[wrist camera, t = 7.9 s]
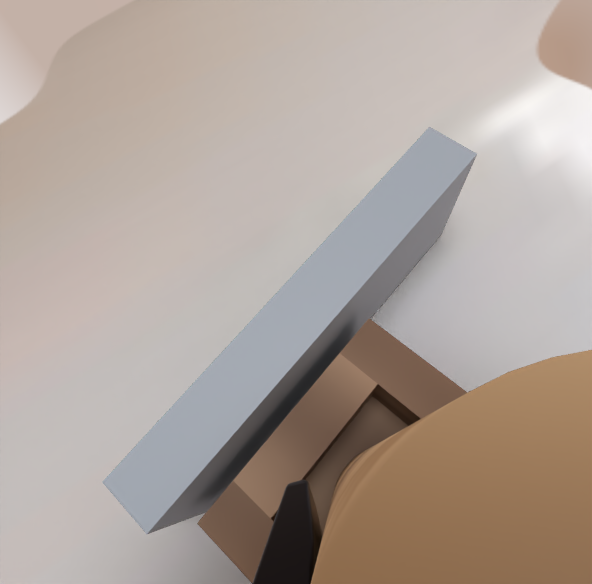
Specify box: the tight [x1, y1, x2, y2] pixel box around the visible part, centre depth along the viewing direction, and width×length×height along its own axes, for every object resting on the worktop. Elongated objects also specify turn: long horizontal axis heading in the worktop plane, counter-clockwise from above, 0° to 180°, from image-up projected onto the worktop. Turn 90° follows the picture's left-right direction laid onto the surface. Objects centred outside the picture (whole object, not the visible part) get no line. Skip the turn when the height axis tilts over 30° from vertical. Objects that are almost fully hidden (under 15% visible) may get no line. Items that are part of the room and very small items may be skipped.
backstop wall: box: [103, 127, 477, 534], centre depth 17 cm, size 16×2×6 cm, turn 139°
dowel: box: [311, 350, 592, 584], centre depth 8 cm, size 4×4×14 cm
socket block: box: [197, 319, 467, 583], centre depth 16 cm, size 9×9×4 cm
